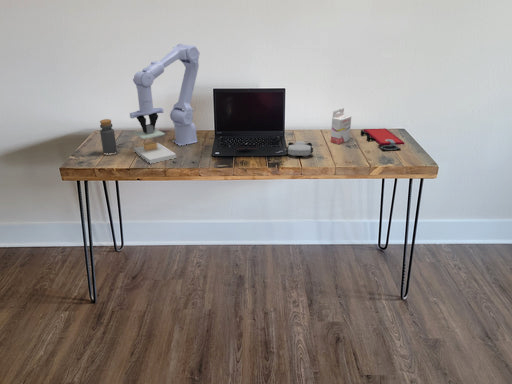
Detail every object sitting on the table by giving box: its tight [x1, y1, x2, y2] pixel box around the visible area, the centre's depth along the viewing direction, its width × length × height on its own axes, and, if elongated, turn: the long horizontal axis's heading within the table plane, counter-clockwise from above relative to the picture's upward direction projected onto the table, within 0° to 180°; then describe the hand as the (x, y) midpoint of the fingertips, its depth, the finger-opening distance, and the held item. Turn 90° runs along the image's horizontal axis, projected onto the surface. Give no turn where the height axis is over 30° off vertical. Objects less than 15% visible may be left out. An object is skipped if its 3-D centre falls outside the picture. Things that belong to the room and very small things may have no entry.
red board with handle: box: [360, 128, 405, 151], centre depth 227 cm, size 30×3×15 cm
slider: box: [142, 140, 158, 150], centre depth 214 cm, size 3×5×2 cm, turn 125°
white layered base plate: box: [132, 142, 177, 165], centre depth 212 cm, size 18×12×2 cm, turn 34°
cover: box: [133, 123, 166, 140], centre depth 211 cm, size 10×10×4 cm
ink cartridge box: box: [330, 107, 352, 145], centre depth 224 cm, size 9×5×15 cm, turn 135°
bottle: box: [99, 118, 118, 154], centre depth 212 cm, size 6×6×15 cm
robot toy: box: [284, 140, 315, 157], centre depth 212 cm, size 12×4×15 cm
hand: (148, 131), depth 211 cm, fingers closed on cover, 3 cm apart
